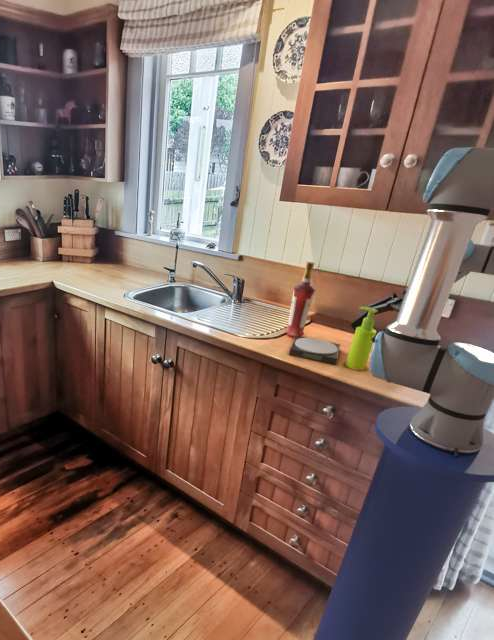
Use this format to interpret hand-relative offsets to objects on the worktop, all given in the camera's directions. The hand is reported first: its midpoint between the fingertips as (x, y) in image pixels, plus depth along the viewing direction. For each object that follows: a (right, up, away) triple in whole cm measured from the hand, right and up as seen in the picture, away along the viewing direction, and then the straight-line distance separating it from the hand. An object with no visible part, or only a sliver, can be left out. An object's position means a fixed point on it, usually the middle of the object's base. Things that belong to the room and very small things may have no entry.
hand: (362, 334), depth 150 cm
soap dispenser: (0, -10, +5) cm, 11 cm away
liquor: (-12, +2, +28) cm, 30 cm away
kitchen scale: (-10, -5, +14) cm, 18 cm away
